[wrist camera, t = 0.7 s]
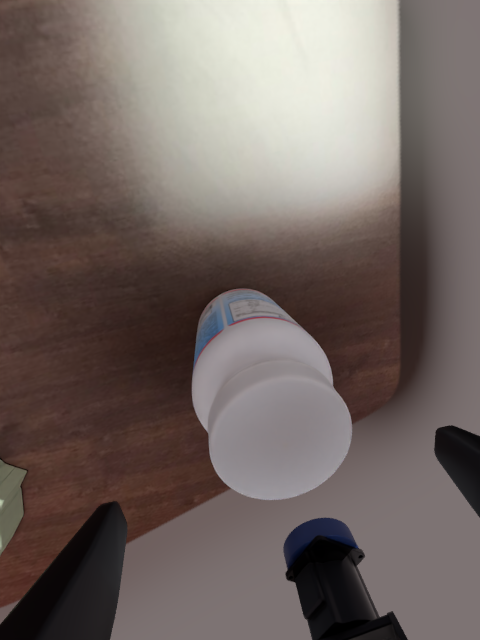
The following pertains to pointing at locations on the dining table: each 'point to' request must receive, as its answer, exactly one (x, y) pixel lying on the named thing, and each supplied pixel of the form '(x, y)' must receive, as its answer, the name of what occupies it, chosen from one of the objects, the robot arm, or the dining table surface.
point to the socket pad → (10, 501)
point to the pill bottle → (266, 398)
